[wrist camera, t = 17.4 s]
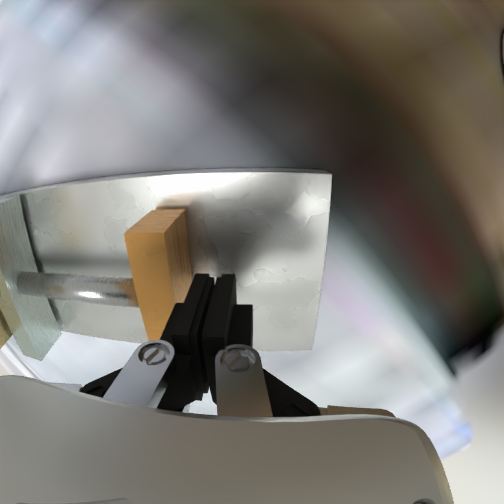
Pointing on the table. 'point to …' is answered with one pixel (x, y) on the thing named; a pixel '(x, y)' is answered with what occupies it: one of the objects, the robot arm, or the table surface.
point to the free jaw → (92, 278)
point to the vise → (192, 242)
